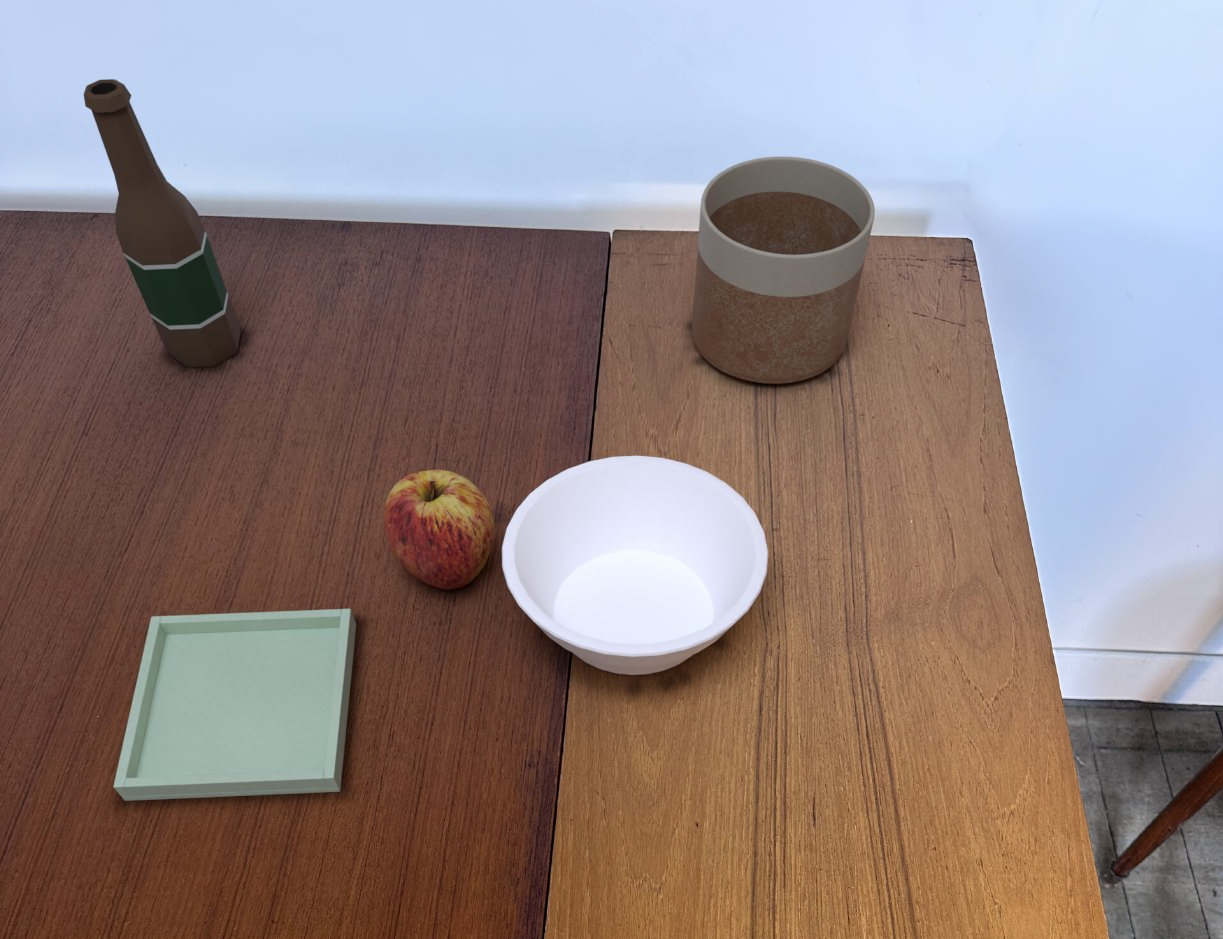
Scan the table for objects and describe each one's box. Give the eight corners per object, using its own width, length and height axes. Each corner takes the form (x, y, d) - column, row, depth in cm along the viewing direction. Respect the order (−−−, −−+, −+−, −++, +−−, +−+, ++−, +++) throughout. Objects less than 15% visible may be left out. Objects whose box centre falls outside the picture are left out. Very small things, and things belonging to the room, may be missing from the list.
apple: (379, 592, 88) (352, 506, 79) (425, 521, 92) (405, 432, 83) (473, 622, 87) (457, 537, 78) (516, 548, 91) (505, 460, 82)
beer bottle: (220, 377, 102) (118, 118, 81) (153, 361, 103) (35, 102, 82) (257, 330, 106) (168, 71, 85) (192, 315, 107) (88, 56, 86)
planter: (659, 335, 105) (665, 200, 93) (765, 272, 110) (783, 136, 98) (771, 412, 99) (792, 279, 87) (877, 341, 104) (911, 206, 92)
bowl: (782, 698, 83) (798, 633, 75) (526, 734, 81) (518, 671, 74) (726, 512, 93) (735, 440, 85) (497, 541, 91) (487, 470, 84)
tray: (124, 801, 78) (112, 787, 76) (161, 632, 86) (151, 616, 84) (340, 791, 78) (333, 777, 77) (356, 624, 86) (350, 608, 85)
